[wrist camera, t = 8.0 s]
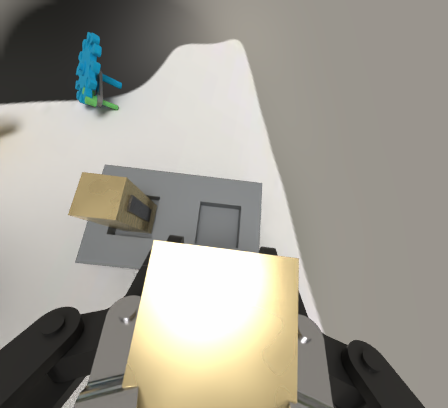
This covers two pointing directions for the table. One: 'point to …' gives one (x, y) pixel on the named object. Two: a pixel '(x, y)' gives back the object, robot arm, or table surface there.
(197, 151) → the table surface
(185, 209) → the grey slotted fixture block
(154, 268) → the brass billet
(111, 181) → the seated billet
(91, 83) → the blue and green toy
